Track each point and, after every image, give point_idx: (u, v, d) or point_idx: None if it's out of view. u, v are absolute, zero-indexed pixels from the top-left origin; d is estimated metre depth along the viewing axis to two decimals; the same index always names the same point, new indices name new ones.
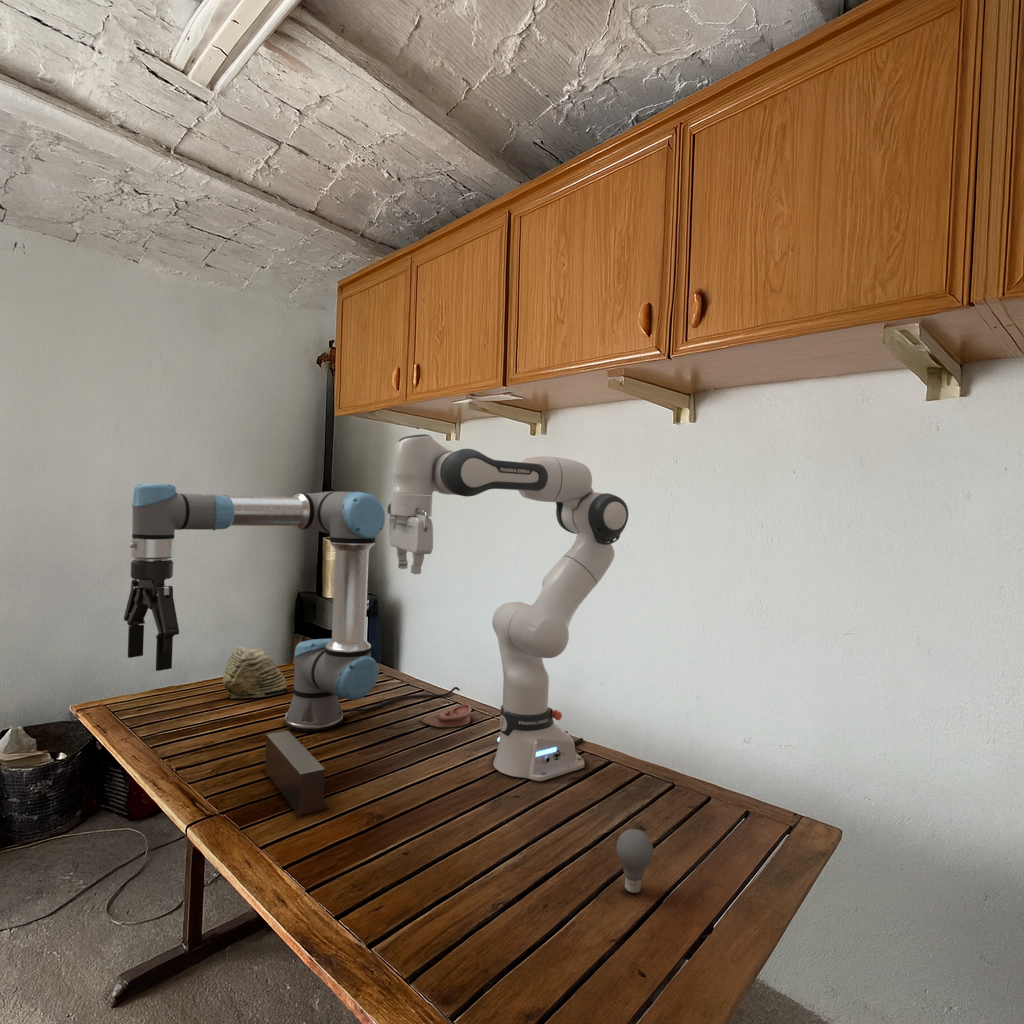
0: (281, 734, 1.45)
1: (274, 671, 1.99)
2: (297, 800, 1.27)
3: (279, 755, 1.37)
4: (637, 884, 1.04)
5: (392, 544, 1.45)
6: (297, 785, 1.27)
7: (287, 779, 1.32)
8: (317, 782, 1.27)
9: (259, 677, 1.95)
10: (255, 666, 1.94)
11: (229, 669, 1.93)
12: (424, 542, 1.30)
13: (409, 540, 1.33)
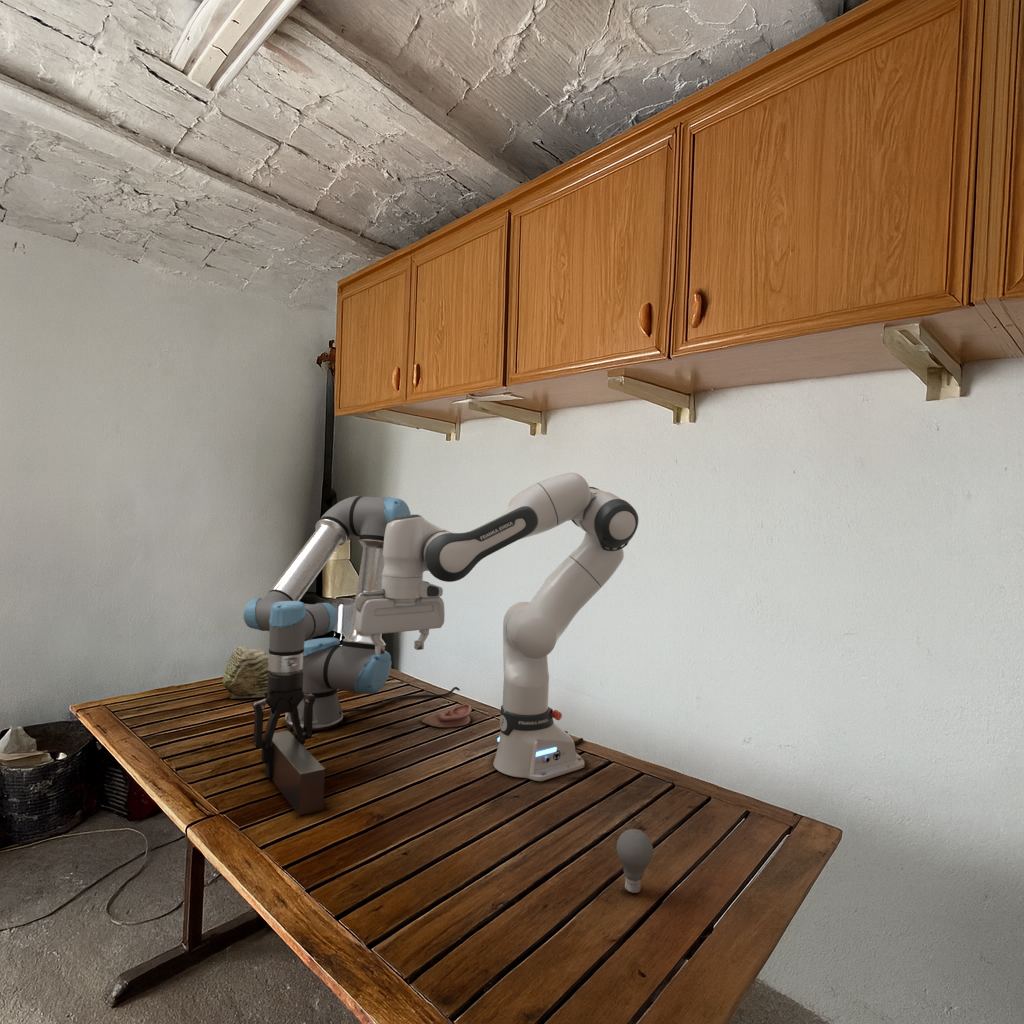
0: (281, 734, 1.45)
1: None
2: (297, 800, 1.27)
3: (279, 755, 1.37)
4: (637, 884, 1.04)
5: None
6: (297, 785, 1.27)
7: (287, 779, 1.32)
8: (317, 782, 1.27)
9: (259, 677, 1.95)
10: (255, 666, 1.94)
11: (229, 669, 1.93)
12: (357, 622, 1.33)
13: None
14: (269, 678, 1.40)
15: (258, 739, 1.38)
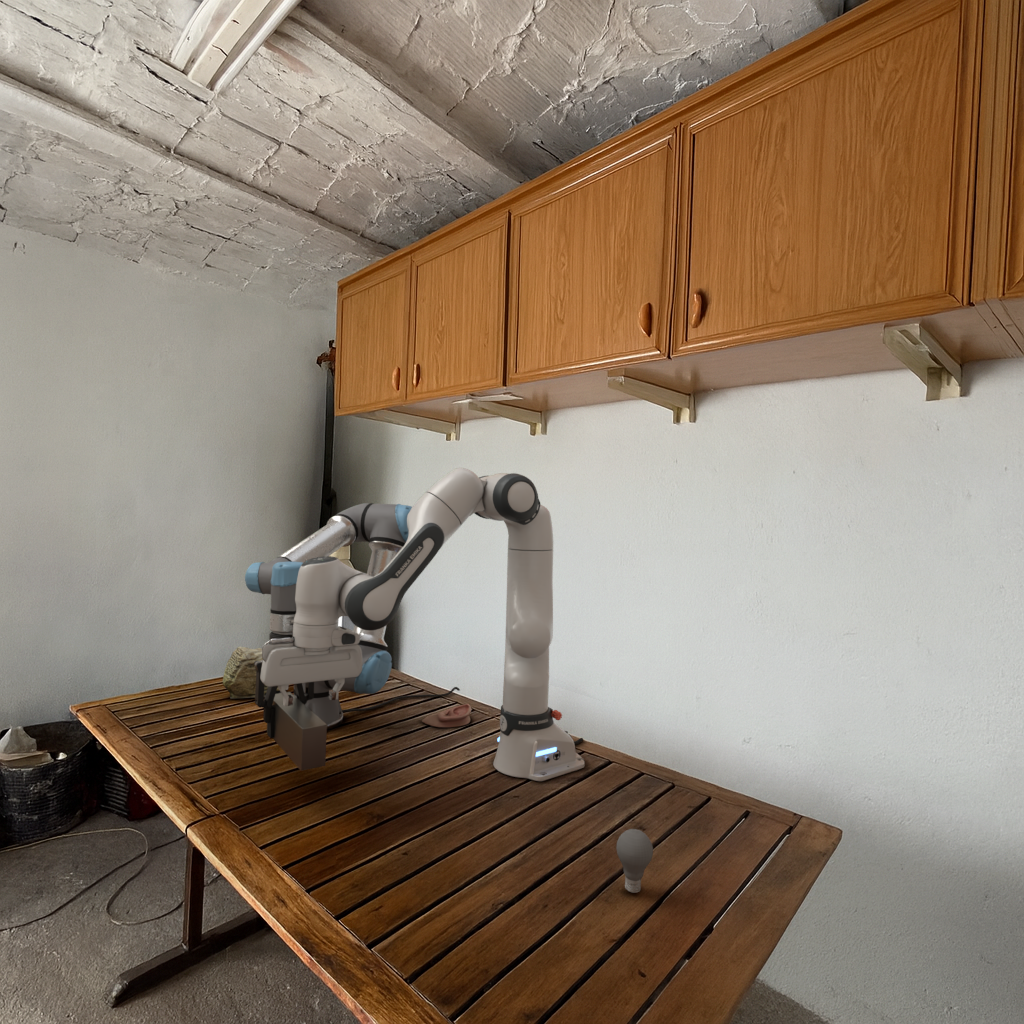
0: None
1: None
2: (299, 755, 1.26)
3: (280, 713, 1.37)
4: (637, 884, 1.04)
5: None
6: (299, 740, 1.27)
7: (289, 736, 1.31)
8: (318, 737, 1.27)
9: None
10: None
11: (229, 669, 1.93)
12: (262, 672, 1.25)
13: None
14: (271, 637, 1.40)
15: (260, 698, 1.38)
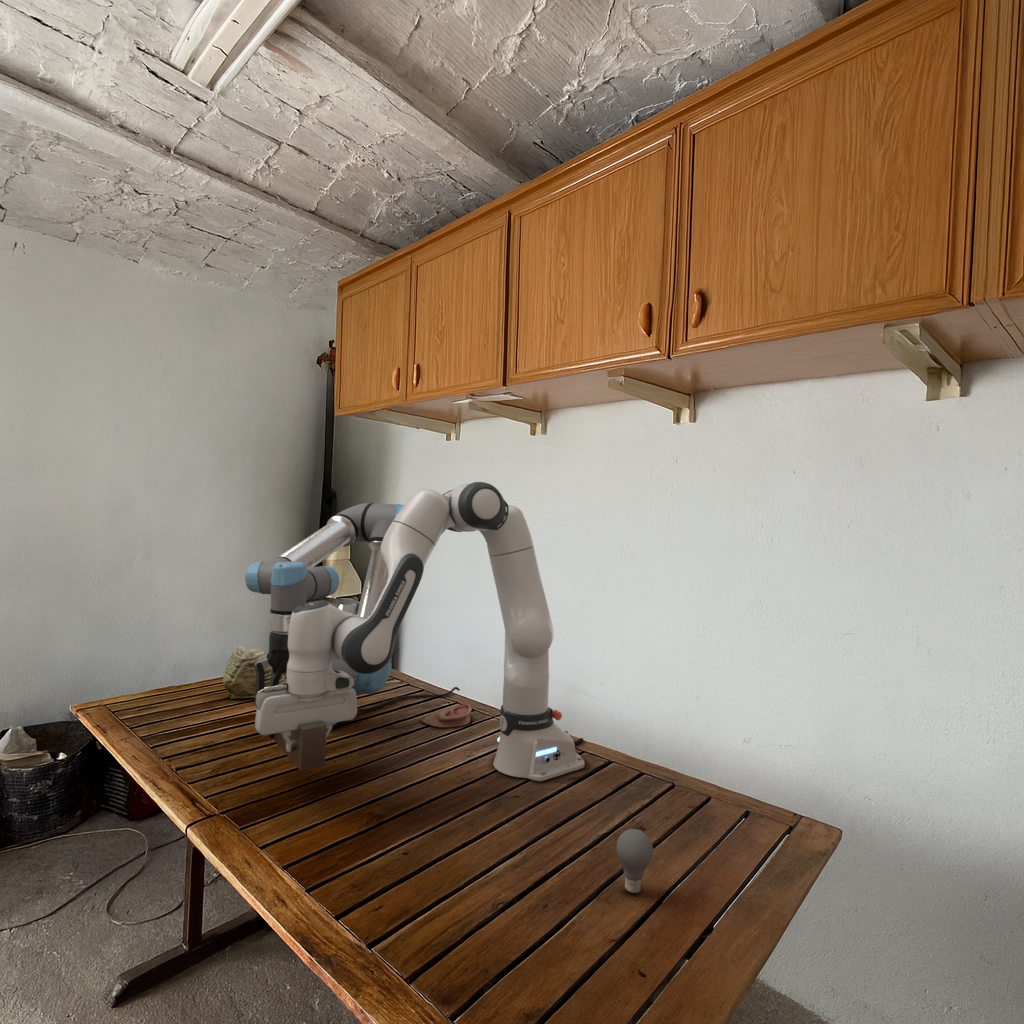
0: None
1: None
2: (298, 755, 1.26)
3: None
4: (637, 884, 1.04)
5: None
6: (298, 741, 1.27)
7: (289, 736, 1.31)
8: (318, 737, 1.27)
9: None
10: None
11: (229, 669, 1.93)
12: (256, 721, 1.24)
13: None
14: (271, 637, 1.40)
15: None
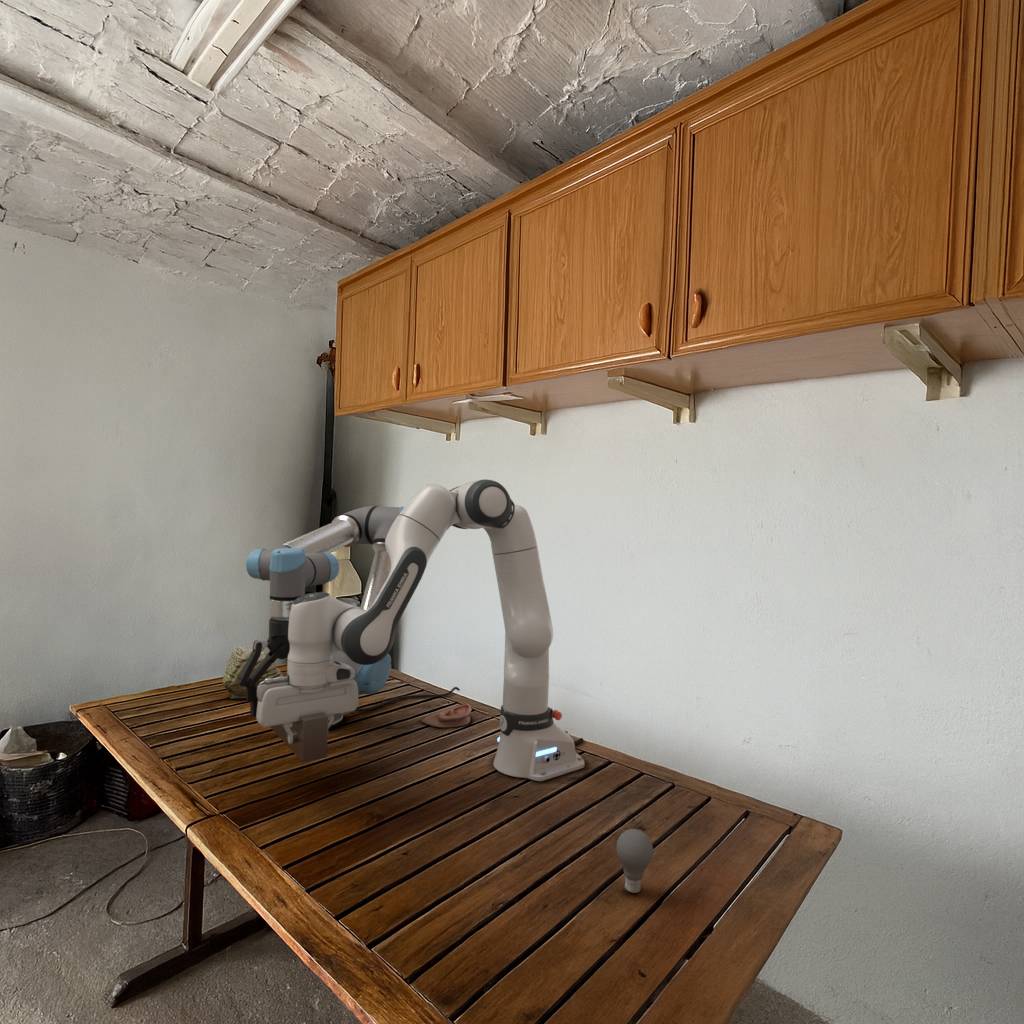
0: None
1: (274, 671, 1.99)
2: (300, 747, 1.26)
3: None
4: (637, 884, 1.04)
5: None
6: (300, 732, 1.27)
7: (291, 728, 1.31)
8: (320, 729, 1.27)
9: None
10: (255, 666, 1.94)
11: (229, 669, 1.93)
12: (258, 713, 1.24)
13: None
14: (270, 623, 1.40)
15: (245, 677, 1.37)
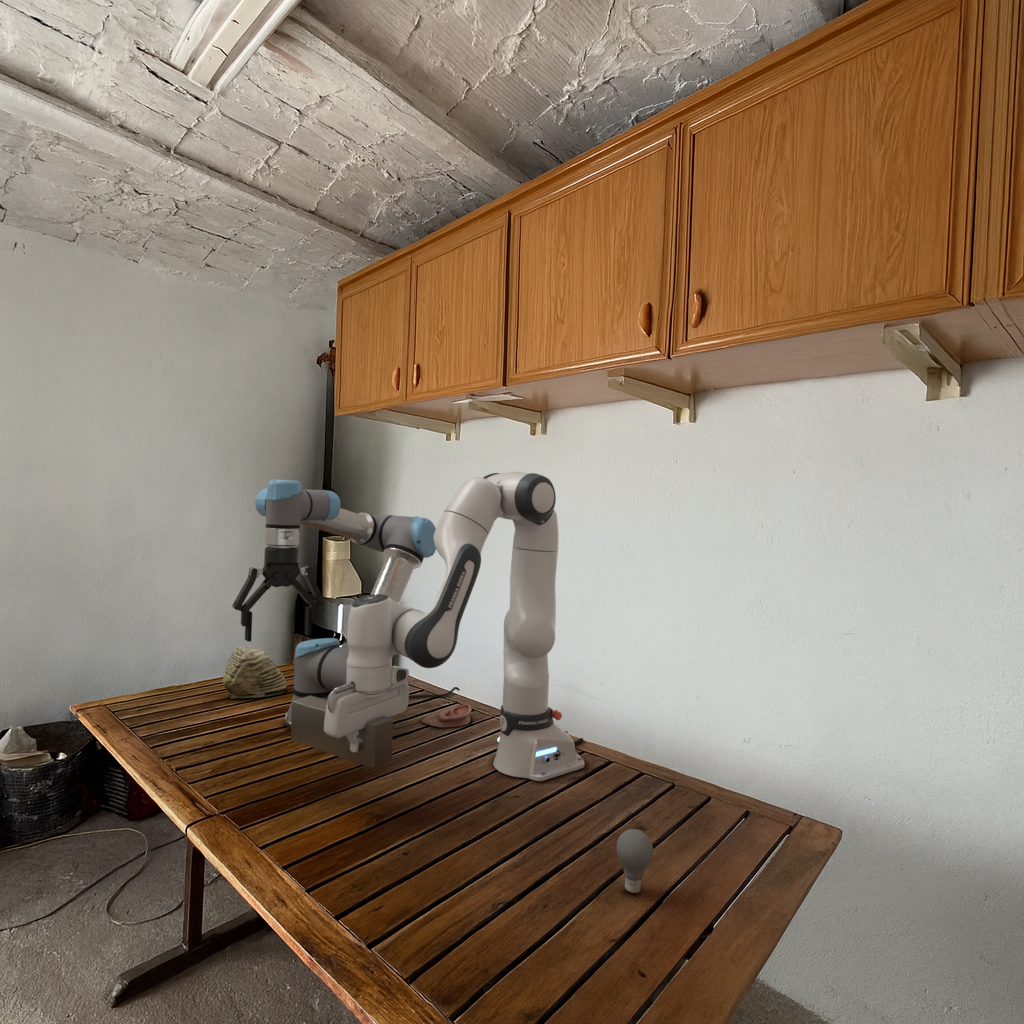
0: (309, 699, 1.36)
1: (274, 671, 1.99)
2: (368, 753, 1.23)
3: (324, 717, 1.29)
4: (637, 884, 1.04)
5: None
6: (368, 739, 1.23)
7: (346, 737, 1.26)
8: (387, 732, 1.25)
9: (259, 677, 1.95)
10: (255, 666, 1.94)
11: (229, 669, 1.93)
12: (329, 724, 1.18)
13: None
14: (266, 551, 1.44)
15: (240, 601, 1.41)
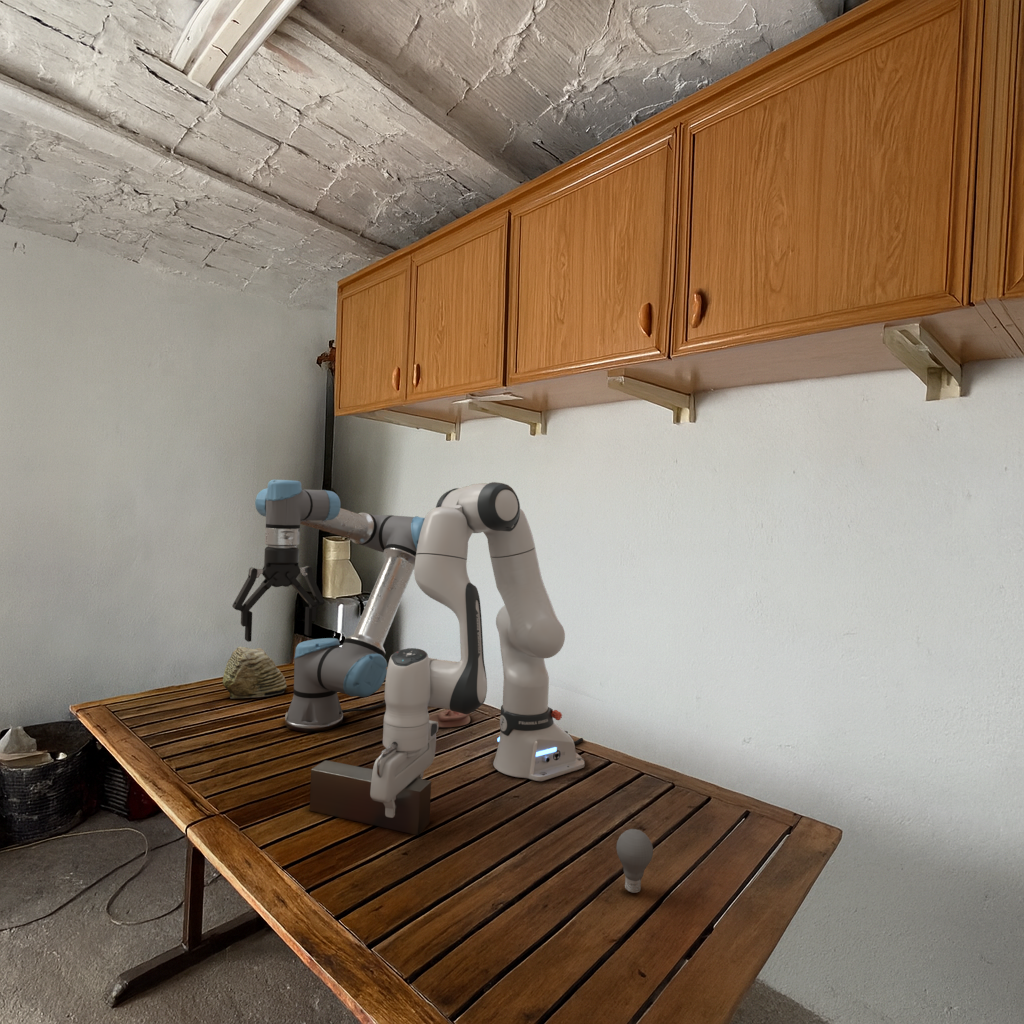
0: (328, 765, 1.30)
1: (274, 671, 1.99)
2: (411, 820, 1.21)
3: (354, 784, 1.24)
4: (637, 884, 1.04)
5: None
6: (410, 805, 1.21)
7: (382, 805, 1.22)
8: (427, 796, 1.23)
9: (259, 677, 1.95)
10: (255, 666, 1.94)
11: (229, 669, 1.93)
12: (377, 789, 1.14)
13: None
14: (266, 551, 1.44)
15: (240, 601, 1.41)
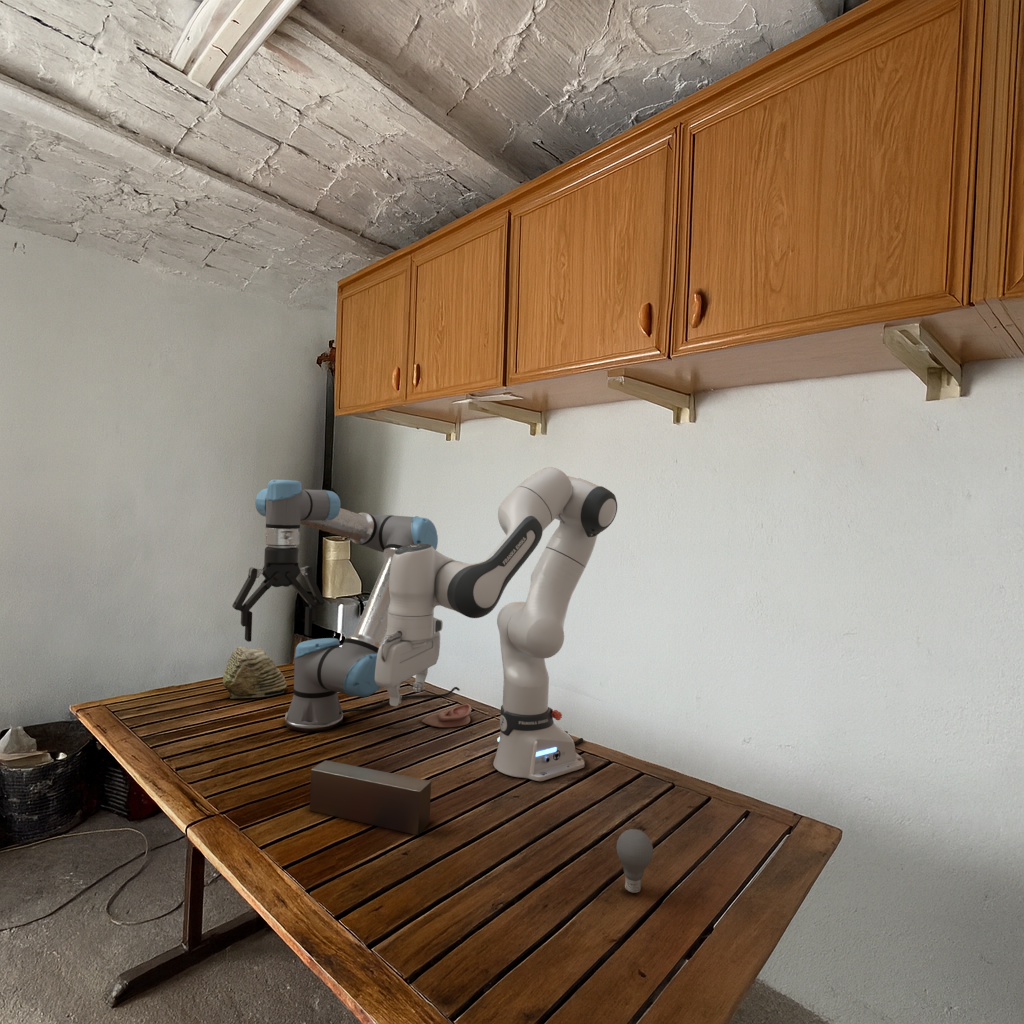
0: (328, 765, 1.30)
1: (274, 671, 1.99)
2: (411, 820, 1.21)
3: (354, 784, 1.24)
4: (637, 884, 1.04)
5: None
6: (410, 805, 1.21)
7: (382, 805, 1.22)
8: (427, 796, 1.23)
9: (259, 677, 1.95)
10: (255, 666, 1.94)
11: (229, 669, 1.93)
12: (381, 673, 1.14)
13: None
14: (266, 551, 1.44)
15: (240, 601, 1.41)
